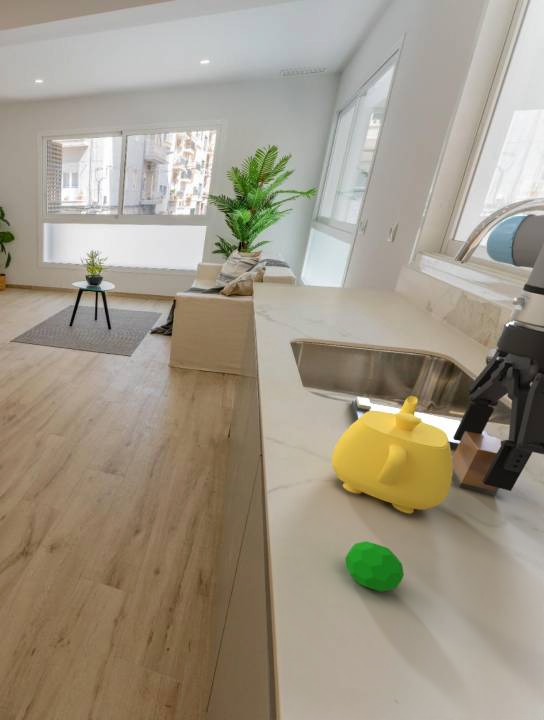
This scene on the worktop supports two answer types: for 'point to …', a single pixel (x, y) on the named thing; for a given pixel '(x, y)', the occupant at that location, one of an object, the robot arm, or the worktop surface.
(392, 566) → the polyhedron
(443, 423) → the slate board
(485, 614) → the worktop surface
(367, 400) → the white flat block
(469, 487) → the brown block
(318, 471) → the worktop surface
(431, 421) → the white small block
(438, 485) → the teapot
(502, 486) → the robot arm
